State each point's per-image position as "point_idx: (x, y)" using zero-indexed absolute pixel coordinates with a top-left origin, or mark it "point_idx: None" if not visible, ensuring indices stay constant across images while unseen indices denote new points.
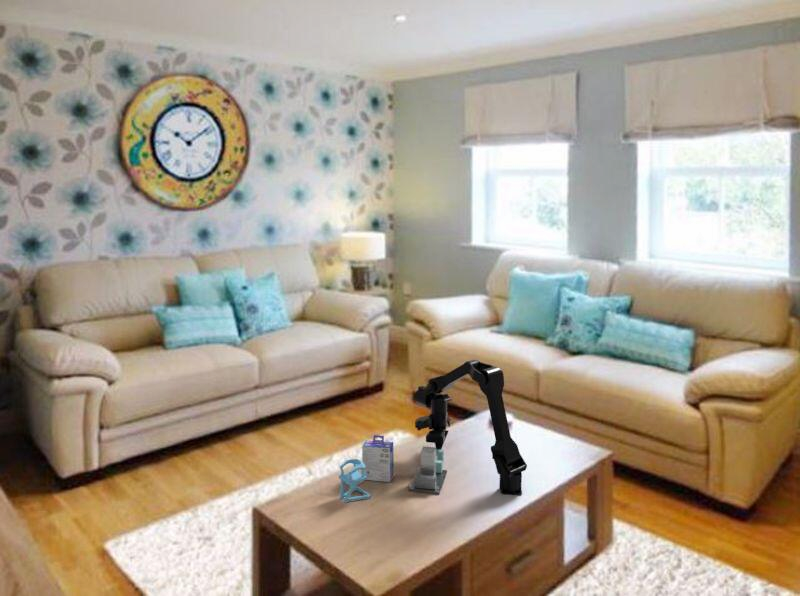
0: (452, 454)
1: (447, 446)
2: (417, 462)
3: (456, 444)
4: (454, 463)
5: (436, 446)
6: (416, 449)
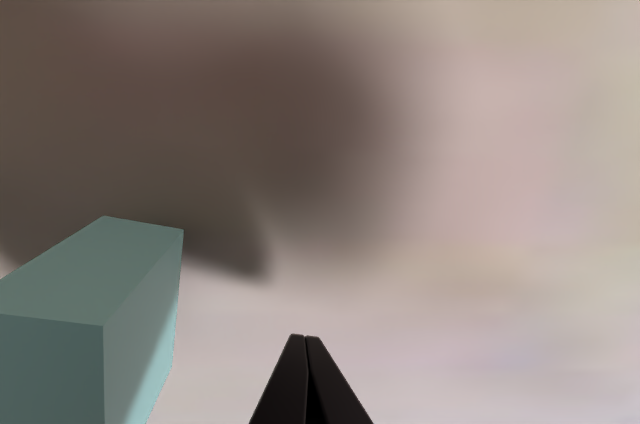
0: None
1: (517, 367)
2: (107, 48)
3: (534, 421)
4: (164, 415)
5: (256, 411)
6: (536, 55)
